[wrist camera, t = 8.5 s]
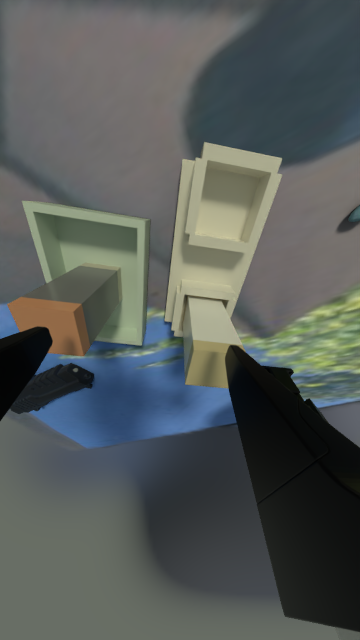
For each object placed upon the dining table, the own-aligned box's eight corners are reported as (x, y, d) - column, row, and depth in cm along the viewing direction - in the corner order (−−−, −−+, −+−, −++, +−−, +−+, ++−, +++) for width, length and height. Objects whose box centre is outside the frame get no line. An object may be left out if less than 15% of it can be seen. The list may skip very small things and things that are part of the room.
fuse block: (223, 327, 23) (229, 342, 20) (164, 320, 22) (162, 334, 20) (278, 170, 14) (300, 162, 11) (183, 152, 13) (184, 138, 11)
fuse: (211, 322, 21) (230, 388, 13) (182, 318, 21) (185, 384, 13) (219, 295, 19) (247, 355, 11) (187, 291, 19) (193, 349, 11)
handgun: (25, 309, 22) (104, 377, 29) (-56, 361, 27) (27, 408, 34) (6, 321, 19) (96, 392, 26) (-80, 376, 24) (16, 423, 31)
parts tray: (145, 330, 23) (141, 345, 20) (75, 323, 22) (62, 337, 20) (150, 219, 16) (145, 220, 13) (48, 202, 15) (21, 200, 13)
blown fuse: (122, 298, 20) (83, 356, 12) (90, 294, 19) (29, 351, 11) (120, 267, 18) (73, 311, 10) (85, 262, 17) (7, 304, 10)
